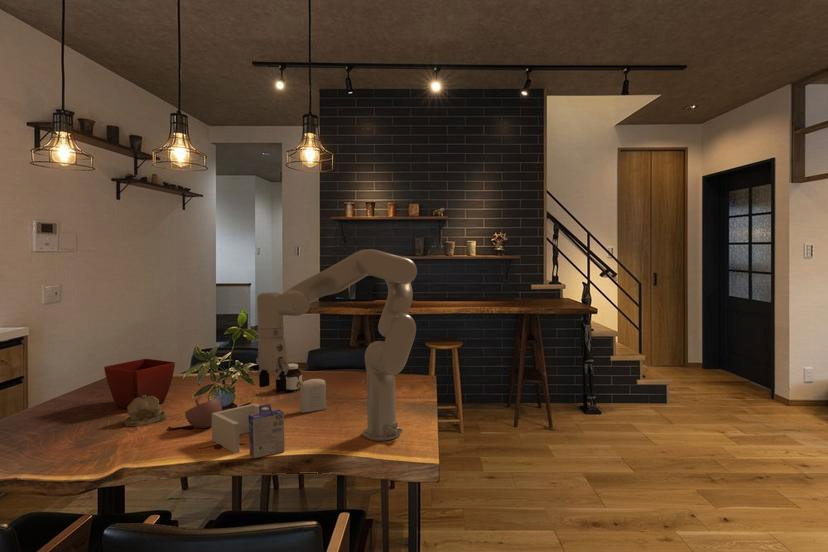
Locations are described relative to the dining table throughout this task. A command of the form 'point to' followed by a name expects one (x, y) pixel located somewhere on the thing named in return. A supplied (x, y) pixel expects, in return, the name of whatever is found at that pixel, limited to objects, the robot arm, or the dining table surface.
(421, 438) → the dining table surface
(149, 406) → the ceramic model
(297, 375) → the spread jar
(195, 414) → the mortar and pestle
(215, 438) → the cubby
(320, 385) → the photo printer
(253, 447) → the ink cartridge box
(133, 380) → the plant pot
